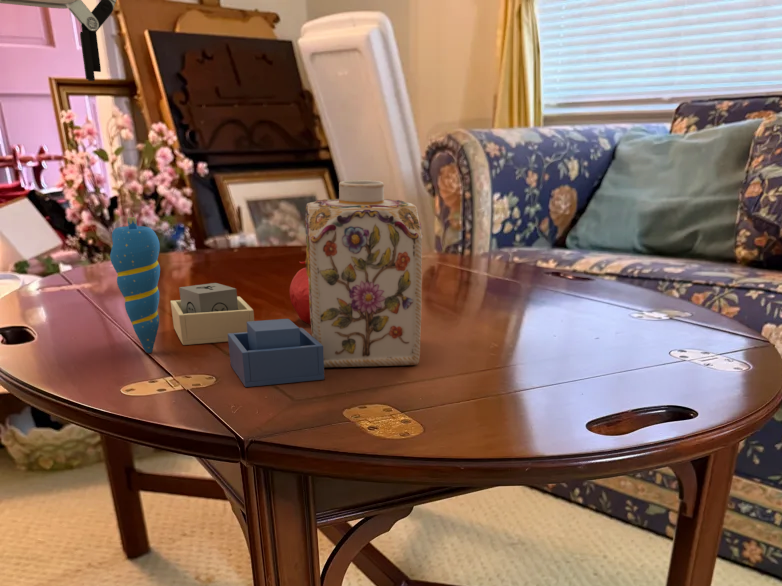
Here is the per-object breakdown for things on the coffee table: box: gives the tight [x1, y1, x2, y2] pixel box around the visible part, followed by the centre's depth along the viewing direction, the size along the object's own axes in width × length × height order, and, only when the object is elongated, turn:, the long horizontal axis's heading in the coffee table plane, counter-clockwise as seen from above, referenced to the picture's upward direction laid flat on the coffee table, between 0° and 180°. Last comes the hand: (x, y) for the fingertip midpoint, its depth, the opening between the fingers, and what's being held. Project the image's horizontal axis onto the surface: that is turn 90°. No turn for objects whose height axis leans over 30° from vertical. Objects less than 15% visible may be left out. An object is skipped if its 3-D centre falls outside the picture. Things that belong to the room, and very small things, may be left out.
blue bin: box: [227, 327, 325, 388], centre depth 80 cm, size 8×8×4 cm
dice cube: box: [178, 282, 238, 314], centre depth 93 cm, size 5×5×5 cm
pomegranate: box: [289, 260, 311, 326], centre depth 99 cm, size 10×10×9 cm
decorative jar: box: [304, 179, 424, 369], centre depth 83 cm, size 12×12×18 cm
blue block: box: [247, 318, 300, 350], centre depth 79 cm, size 4×4×4 cm
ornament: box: [109, 210, 161, 354], centre depth 83 cm, size 5×5×15 cm
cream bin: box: [170, 295, 255, 346], centre depth 94 cm, size 9×9×4 cm
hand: (36, 77), depth 73 cm, fingers open, 9 cm apart
